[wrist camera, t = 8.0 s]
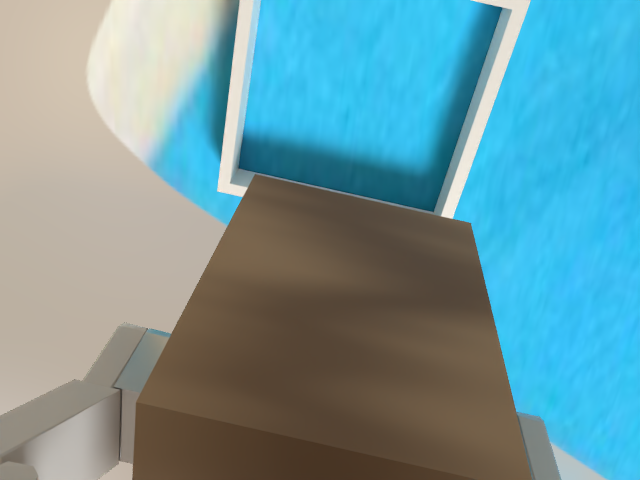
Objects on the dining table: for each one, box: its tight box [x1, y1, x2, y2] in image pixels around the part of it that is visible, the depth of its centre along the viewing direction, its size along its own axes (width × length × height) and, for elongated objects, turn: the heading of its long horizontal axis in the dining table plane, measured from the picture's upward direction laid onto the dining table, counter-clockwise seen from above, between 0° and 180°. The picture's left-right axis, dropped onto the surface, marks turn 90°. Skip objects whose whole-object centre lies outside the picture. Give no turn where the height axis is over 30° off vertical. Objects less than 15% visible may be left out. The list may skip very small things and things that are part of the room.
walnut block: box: [132, 174, 532, 480], centre depth 11 cm, size 5×5×7 cm
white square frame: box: [217, 0, 531, 219], centre depth 28 cm, size 12×12×2 cm
